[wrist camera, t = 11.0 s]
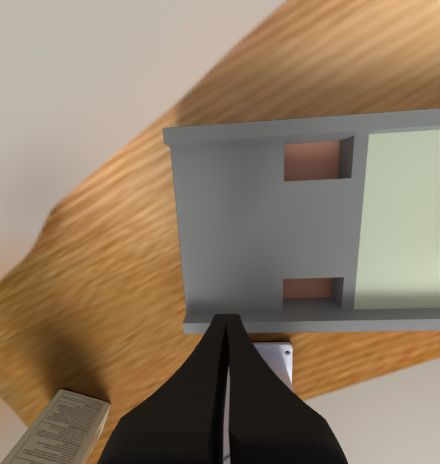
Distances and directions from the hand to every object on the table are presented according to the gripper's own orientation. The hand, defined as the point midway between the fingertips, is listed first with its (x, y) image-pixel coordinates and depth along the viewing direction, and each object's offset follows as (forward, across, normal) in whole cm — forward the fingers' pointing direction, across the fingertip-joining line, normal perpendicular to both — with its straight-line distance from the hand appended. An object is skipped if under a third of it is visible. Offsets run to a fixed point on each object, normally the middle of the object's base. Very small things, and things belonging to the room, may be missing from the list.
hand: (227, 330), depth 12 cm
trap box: (+9, -10, -4) cm, 14 cm away
